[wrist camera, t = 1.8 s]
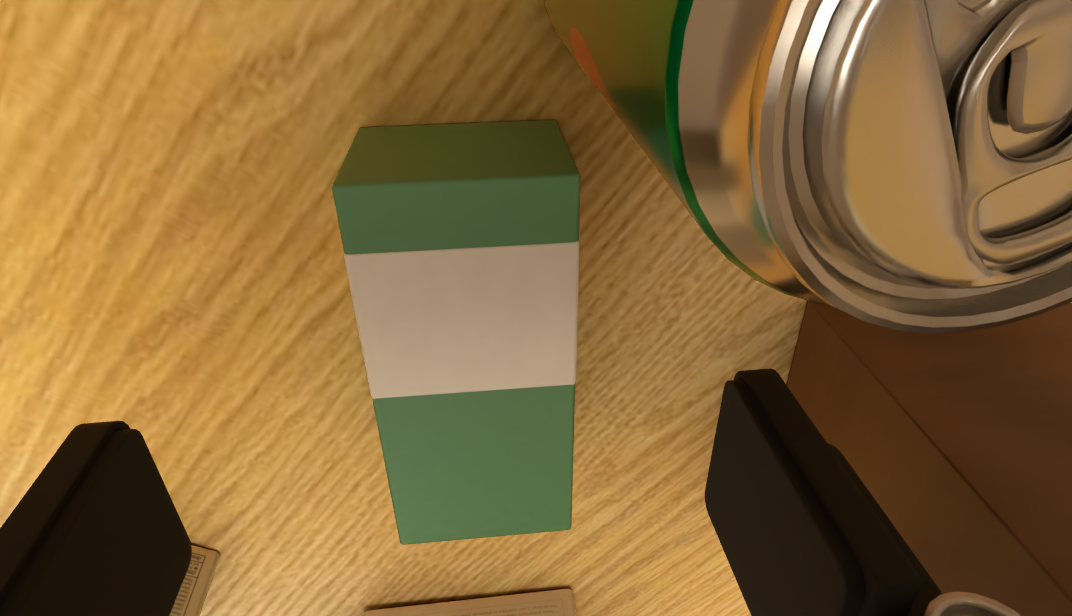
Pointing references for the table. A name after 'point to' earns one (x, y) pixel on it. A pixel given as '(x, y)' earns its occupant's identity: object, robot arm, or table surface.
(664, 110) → the soda can
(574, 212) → the block
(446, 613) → the rectangular carton
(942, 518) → the pedestal
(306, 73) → the table surface
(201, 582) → the box
